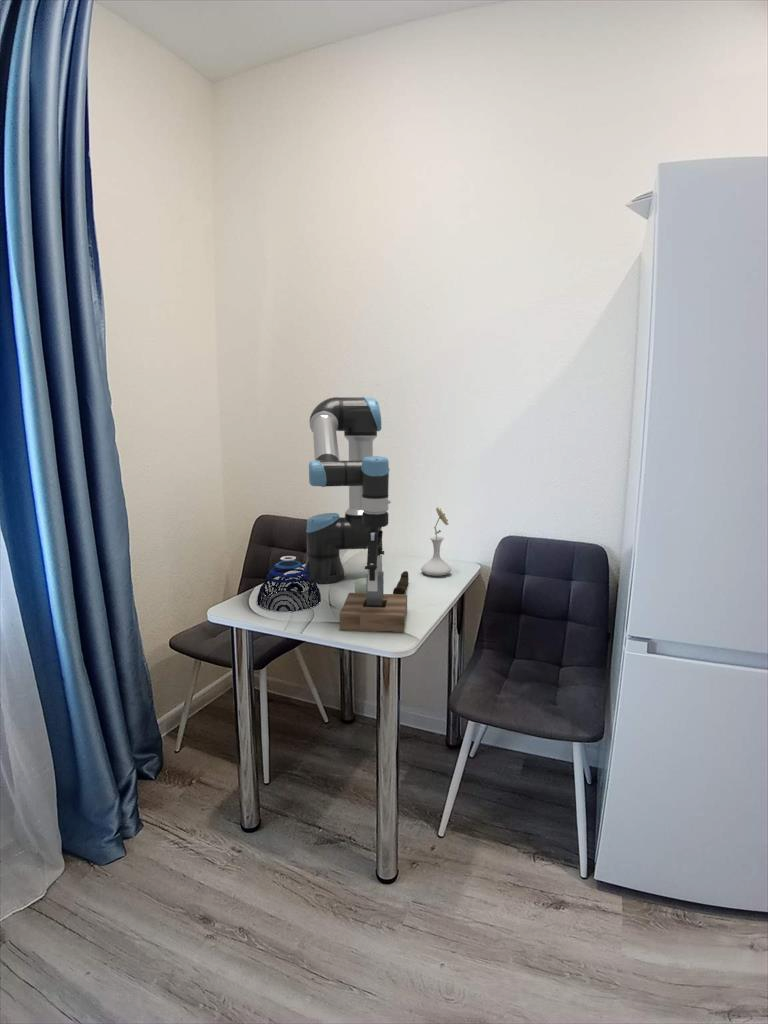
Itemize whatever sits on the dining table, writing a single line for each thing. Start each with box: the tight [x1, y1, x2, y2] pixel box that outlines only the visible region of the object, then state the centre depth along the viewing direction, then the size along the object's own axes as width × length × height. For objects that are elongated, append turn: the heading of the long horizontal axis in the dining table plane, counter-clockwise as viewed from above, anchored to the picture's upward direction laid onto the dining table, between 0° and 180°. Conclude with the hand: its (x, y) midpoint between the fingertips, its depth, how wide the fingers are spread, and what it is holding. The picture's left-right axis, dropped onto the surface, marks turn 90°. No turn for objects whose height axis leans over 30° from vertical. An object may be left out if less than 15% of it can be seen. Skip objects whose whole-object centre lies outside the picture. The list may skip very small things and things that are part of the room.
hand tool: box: [392, 570, 410, 595], centre depth 195 cm, size 19×4×5 cm, turn 168°
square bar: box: [365, 571, 385, 608], centre depth 166 cm, size 4×4×14 cm
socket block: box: [339, 592, 408, 633], centre depth 167 cm, size 18×18×5 cm
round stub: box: [354, 577, 366, 593], centre depth 182 cm, size 8×8×7 cm
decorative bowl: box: [256, 555, 322, 612], centre depth 183 cm, size 20×20×14 cm
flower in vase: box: [420, 506, 452, 577], centre depth 213 cm, size 13×11×25 cm
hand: (374, 583), depth 166 cm, fingers open, 13 cm apart
